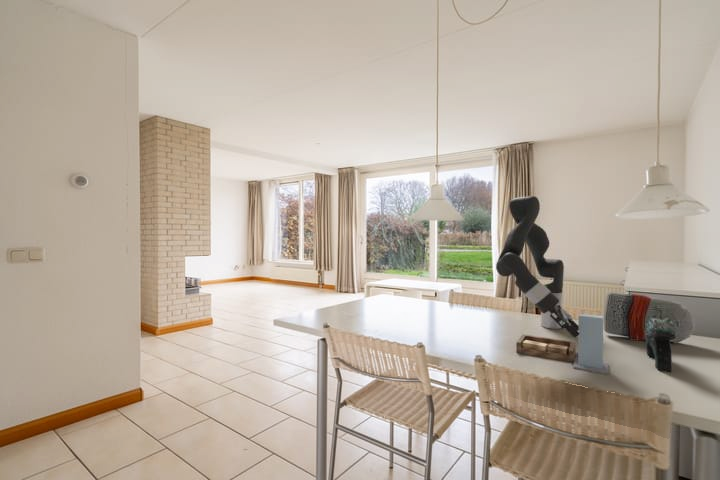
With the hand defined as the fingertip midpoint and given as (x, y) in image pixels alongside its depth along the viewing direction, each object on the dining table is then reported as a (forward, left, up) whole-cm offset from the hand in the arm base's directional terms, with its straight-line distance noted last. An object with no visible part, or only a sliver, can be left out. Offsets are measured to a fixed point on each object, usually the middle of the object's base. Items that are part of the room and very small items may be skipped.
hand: (577, 333), depth 125 cm
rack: (-4, -13, -11) cm, 17 cm away
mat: (-1, +4, -11) cm, 12 cm away
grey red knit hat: (-53, +5, -11) cm, 55 cm away
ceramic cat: (-23, +16, -11) cm, 30 cm away
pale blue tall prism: (-1, +4, -10) cm, 11 cm away
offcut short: (-2, -8, -11) cm, 14 cm away
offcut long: (0, -15, -11) cm, 19 cm away
